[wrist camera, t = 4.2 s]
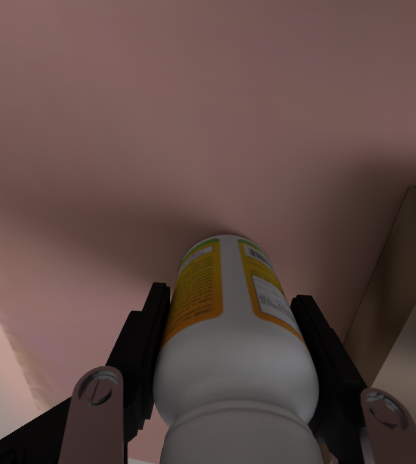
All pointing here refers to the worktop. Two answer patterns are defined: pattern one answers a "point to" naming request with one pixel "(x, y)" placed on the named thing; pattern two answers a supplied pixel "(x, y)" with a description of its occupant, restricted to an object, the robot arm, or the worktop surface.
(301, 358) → the supplement bottle
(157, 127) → the worktop surface
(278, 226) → the worktop surface
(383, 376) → the bottle rack
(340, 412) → the robot arm
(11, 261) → the worktop surface
